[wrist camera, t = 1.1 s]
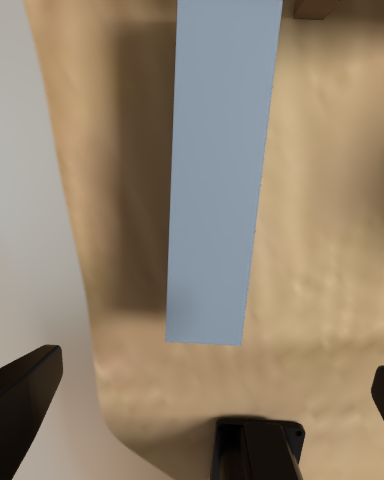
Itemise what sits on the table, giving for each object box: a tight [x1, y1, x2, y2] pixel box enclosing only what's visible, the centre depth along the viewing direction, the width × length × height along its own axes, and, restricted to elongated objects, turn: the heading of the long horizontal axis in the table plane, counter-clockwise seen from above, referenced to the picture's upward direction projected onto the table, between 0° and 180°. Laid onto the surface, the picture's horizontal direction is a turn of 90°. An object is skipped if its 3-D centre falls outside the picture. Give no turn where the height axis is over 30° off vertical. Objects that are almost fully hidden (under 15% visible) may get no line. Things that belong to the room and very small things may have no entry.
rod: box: [165, 0, 283, 346], centre depth 14 cm, size 16×4×4 cm, turn 177°
